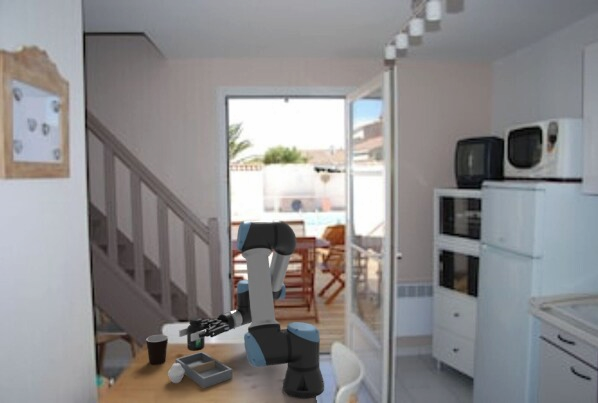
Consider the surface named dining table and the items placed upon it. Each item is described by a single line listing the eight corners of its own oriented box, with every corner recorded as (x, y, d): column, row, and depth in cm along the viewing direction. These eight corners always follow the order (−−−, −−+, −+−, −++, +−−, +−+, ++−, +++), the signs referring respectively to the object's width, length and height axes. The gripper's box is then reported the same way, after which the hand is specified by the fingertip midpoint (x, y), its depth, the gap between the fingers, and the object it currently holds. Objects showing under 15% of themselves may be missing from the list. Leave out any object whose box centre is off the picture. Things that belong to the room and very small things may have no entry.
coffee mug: (161, 366, 172) (161, 342, 172) (142, 365, 174) (142, 341, 174) (175, 355, 184) (175, 333, 183) (157, 354, 185) (157, 331, 185)
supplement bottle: (202, 351, 168) (202, 321, 167) (185, 351, 168) (184, 321, 167) (206, 344, 175) (206, 316, 174) (189, 344, 175) (189, 316, 174)
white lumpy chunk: (167, 379, 161) (167, 361, 161) (184, 376, 164) (183, 358, 163) (168, 386, 156) (168, 367, 155) (185, 383, 158) (185, 365, 158)
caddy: (232, 378, 162) (232, 369, 162) (203, 388, 154) (203, 378, 154) (202, 359, 180) (202, 351, 180) (175, 367, 172) (175, 359, 172)
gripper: (245, 334, 179) (201, 351, 161) (214, 324, 191) (170, 339, 173) (245, 316, 179) (201, 331, 161) (214, 308, 191) (170, 321, 173)
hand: (185, 335), depth 167 cm, fingers closed on supplement bottle, 7 cm apart
